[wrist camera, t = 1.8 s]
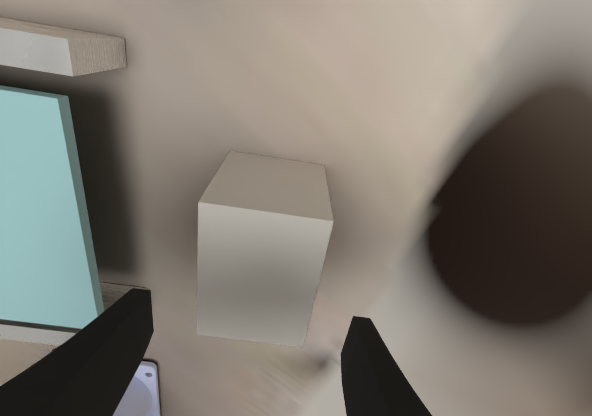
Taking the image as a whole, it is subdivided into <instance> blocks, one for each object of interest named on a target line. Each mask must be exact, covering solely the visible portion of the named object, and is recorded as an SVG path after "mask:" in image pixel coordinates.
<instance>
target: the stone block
mask: <svg viewBox="0 0 592 416" xmlns="http://www.w3.org/2000/svg"><path fill="white" fill-rule="evenodd" d="M333 223H334V220H333V214H332V208H331V202H330V196H329V190H328V184H327V179H326V173H325V167H324V165H321V164H314V163H308V162H301V161H295V160H288V159H282V158H275V157H268V156H262V155H255V154H249V153H242V152H236V151H230V152H229V153H228V155H227V157H226V158H225V160H224V161H223V163H222V165H221V166H220V168H219V169H218V171H217V173H216V174H215V176H214V177H213V179H212V181H211V182H210V184H209V185H208V187H207V189H206V190H205V192H204V193H203V195H202V197H201V198H200V200H199V202H198V252H197V321H196V335H200V336H208V337H216V338H225V339H233V340H241V341H250V342H258V343H266V344H275V345H283V346H291V347H300V348H303V346H304V342H305V337H306V333H307V329H308V325H309V321H310V317H311V313H312V309H313V305H314V301H315V296H316V292H317V288H318V284H319V280H320V276H321V272H322V268H323V264H324V260H325V255H326V251H327V247H328V243H329V239H330V235H331V231H332V227H333Z"/></svg>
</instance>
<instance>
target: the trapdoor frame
mask: <svg viewBox="0 0 592 416" xmlns="http://www.w3.org/2000/svg"><path fill="white" fill-rule="evenodd" d="M0 65H5V66H12V67H18V68H24V69H30V70H36V71H42V72H49V73H55V74H61V75H67V76H79V75H84V74H90V73H95V72H101V71H107V70H112V69H118V68H124V67H127V64H126V52H125V40H124V38H120V37H115V36H109V35H103V34H97V33H91V32H85V31H79V30H73V29H67V28H61V27H56V26H50V25H44V24H38V23H32V22H26V21H20V20H14V19H8V18H3V17H0ZM100 288H101V294H102V300H103V306H104V311H105V310H106V309H107V308H109V307H110V306H111V305H112V304H113V303H115V302H116V301H117V300H118V299H119V298H121V297H122V296H123V295H124V294H125V293H127V292H128V291H129V290H130V289H132V288H138V289H145V288H142V287H134V286H126V285H118V284H110V283H102V282H100ZM80 330H81V329H80V328H71V327H63V326H54V325H46V324H38V323H29V322H21V321H12V320H4V319H0V339H7V340H15V341H24V342H33V343H41V344H50V345H59V346H60V345H62V344H63V343H64V342H66V341H67V340H68V339H70V338H71V337H72V336H74V335H75V334H76V333H78V332H79V331H80Z"/></svg>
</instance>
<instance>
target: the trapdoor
mask: <svg viewBox="0 0 592 416" xmlns="http://www.w3.org/2000/svg"><path fill="white" fill-rule="evenodd" d="M103 312H104V306H103V300H102V294H101V288H100V282H99V276H98V270H97V264H96V258H95V253H94V247H93V241H92V235H91V229H90V223H89V217H88V211H87V205H86V199H85V193H84V187H83V181H82V175H81V170H80V164H79V158H78V152H77V146H76V140H75V134H74V128H73V122H72V116H71V110H70V104H69V98H68V96H65V95H59V94H53V93H46V92H40V91H34V90H27V89H21V88H15V87H8V86H2V85H0V319H4V320H12V321H21V322H29V323H38V324H46V325H54V326H63V327H71V328H80V329H83V328H84V327H85V326H86V325H88V324H89V323H90V322H91V321H93V320H94V319H95V318H96V317H98V316H99V315H100V314H101V313H103Z"/></svg>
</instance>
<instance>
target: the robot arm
mask: <svg viewBox="0 0 592 416" xmlns="http://www.w3.org/2000/svg"><path fill="white" fill-rule="evenodd" d="M153 331H154V330H153V317H152V304H151V291H150V290H145V289H138V288H132V289H130V290H129V291H128V292H127V293H125V294H124V295H123V296H122V297H121V298H119V299H118V300H117V301H116V302H115V303H113V304H112V305H111V306H110V307H109V308H107V309H106V310H105V311H104V312H103V313H101V314H100V315H99V316H98V317H96V318H95V319H94V320H93V321H91V322H90V323H89V324H88V325H86V326H85V327H84V328H83V329H81V330H80V331H79V332H78V333H76V334H75V335H74V336H72V337H71V338H70V339H68V340H67V341H66V342H64V343H63V344H62V345H60V346H59V347H57V348H56V349H55V350H53V351H52V352H50V353H49V354H48V355H47V356H45V357H44V358H42V359H41V360H39V361H38V362H37V363H35V364H34V365H32V366H31V367H29V368H28V369H26V370H25V371H23V372H22V373H20V374H19V375H17V376H16V377H14V378H12V379H11V380H9V381H8V382H6V383H5V384H3V385H2V386H0V416H160V403H159V389H158V376H157V366H156V365H155V364H154V363H152V362H146V361H142V359H143V357H144V354H145V352H146V349H147V347H148V344H149V342H150V339H151V337H152V334H153ZM341 373H342V387H343V394H344V400H345V407H346V414H347V416H432V415H431V414H430V412H429V411H428V410H427V408H426V407H425V405H424V404H423V403H422V401H421V400H420V398H419V397H418V396H417V394H416V393H415V391H414V390H413V388H412V387H411V385H410V384H409V382H408V381H407V379H406V378H405V376H404V374H403V373H402V371H401V370H400V368H399V367H398V365H397V363H396V362H395V360H394V359H393V357H392V355H391V354H390V352H389V350H388V349H387V347H386V345H385V343H384V342H383V340H382V338H381V337H380V335H379V333H378V331H377V329H376V328H375V326H374V324H373V322H372V321H371V319H370V318H364V317H356V316H353V318H352V321H351V324H350V327H349V330H348V334H347V337H346V340H345V343H344V346H343V349H342V352H341Z"/></svg>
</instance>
